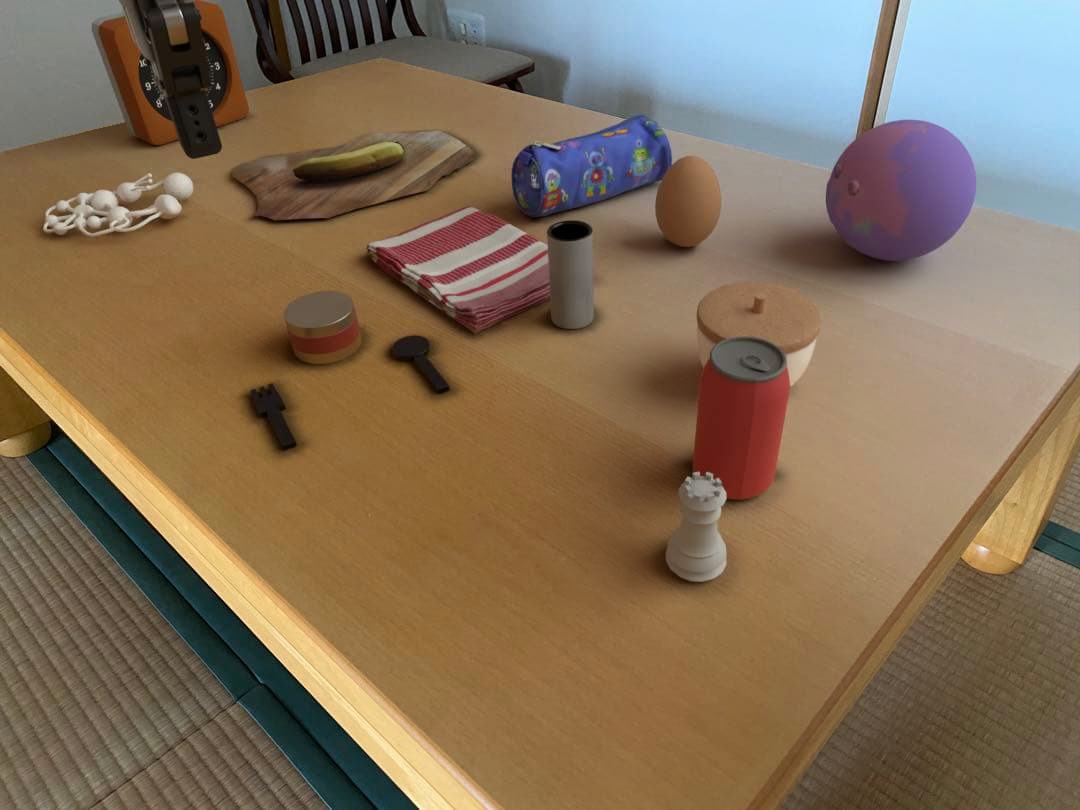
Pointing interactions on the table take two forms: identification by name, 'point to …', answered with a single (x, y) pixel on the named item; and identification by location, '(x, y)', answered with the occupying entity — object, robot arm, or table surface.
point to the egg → (688, 202)
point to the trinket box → (760, 321)
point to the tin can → (323, 327)
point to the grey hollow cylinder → (571, 273)
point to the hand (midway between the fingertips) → (203, 152)
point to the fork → (274, 414)
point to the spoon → (420, 359)
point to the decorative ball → (901, 190)
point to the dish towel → (469, 266)
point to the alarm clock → (136, 79)
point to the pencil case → (590, 166)
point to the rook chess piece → (698, 531)
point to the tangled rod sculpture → (118, 216)
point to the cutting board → (351, 173)
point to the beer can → (741, 415)
